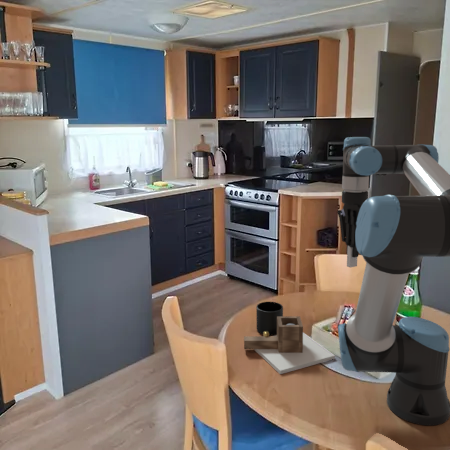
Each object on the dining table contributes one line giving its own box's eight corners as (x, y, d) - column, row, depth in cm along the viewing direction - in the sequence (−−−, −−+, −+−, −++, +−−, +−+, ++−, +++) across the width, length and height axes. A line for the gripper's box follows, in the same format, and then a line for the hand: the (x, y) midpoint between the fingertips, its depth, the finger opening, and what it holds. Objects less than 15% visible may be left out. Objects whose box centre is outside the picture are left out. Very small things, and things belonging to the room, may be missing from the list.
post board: (334, 358, 140) (335, 331, 138) (280, 374, 132) (280, 346, 130) (299, 332, 158) (299, 308, 156) (249, 345, 150) (249, 319, 148)
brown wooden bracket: (299, 341, 149) (299, 316, 147) (302, 352, 142) (303, 326, 140) (244, 341, 150) (243, 316, 148) (244, 352, 143) (243, 326, 141)
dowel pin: (269, 343, 148) (269, 332, 147) (265, 345, 147) (265, 334, 146) (267, 341, 150) (267, 330, 149) (262, 342, 149) (262, 331, 148)
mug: (275, 320, 169) (275, 297, 166) (286, 334, 157) (286, 310, 155) (251, 322, 167) (251, 300, 165) (260, 337, 155) (260, 313, 153)
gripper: (380, 191, 127) (376, 270, 132) (350, 186, 139) (347, 258, 144) (360, 194, 124) (356, 274, 129) (331, 188, 136) (328, 262, 141)
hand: (351, 266), depth 137 cm, fingers closed
